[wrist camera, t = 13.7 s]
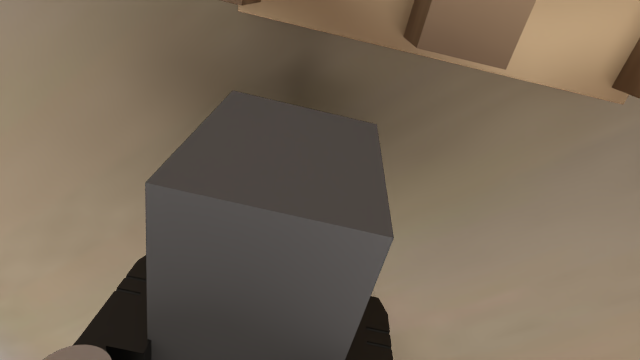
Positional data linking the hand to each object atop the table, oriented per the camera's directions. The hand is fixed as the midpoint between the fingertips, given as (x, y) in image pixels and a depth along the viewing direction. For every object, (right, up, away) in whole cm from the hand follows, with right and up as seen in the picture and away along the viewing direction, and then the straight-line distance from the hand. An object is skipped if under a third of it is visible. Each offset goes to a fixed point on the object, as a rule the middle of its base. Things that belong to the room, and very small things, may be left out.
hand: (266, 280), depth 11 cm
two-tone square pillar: (0, +1, +1) cm, 1 cm away
